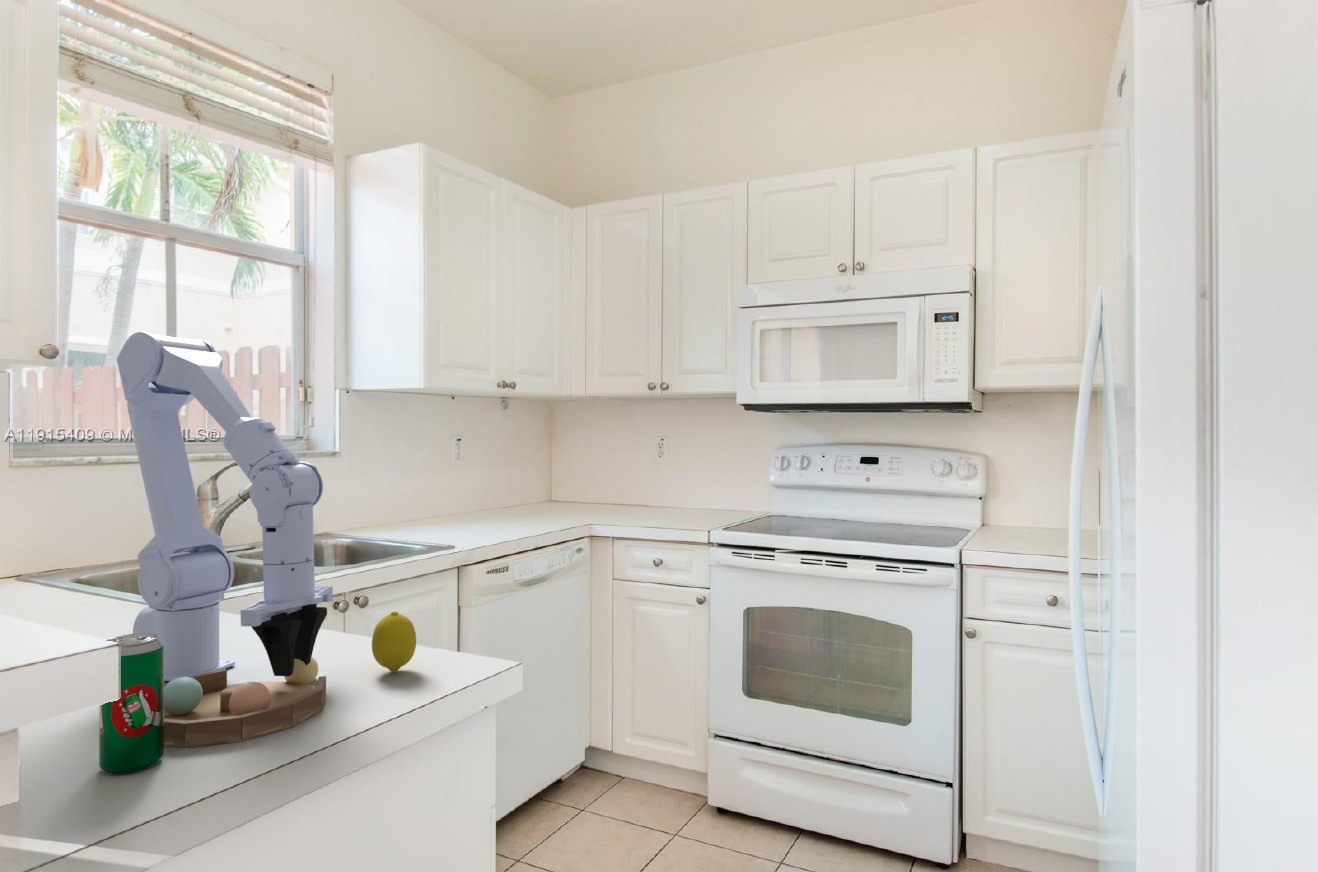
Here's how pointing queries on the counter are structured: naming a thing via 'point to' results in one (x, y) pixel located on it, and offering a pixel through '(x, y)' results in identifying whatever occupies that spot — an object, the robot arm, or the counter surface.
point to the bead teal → (182, 695)
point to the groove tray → (220, 726)
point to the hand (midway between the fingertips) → (291, 671)
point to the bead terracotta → (249, 698)
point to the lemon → (393, 641)
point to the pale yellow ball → (303, 672)
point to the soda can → (135, 708)
